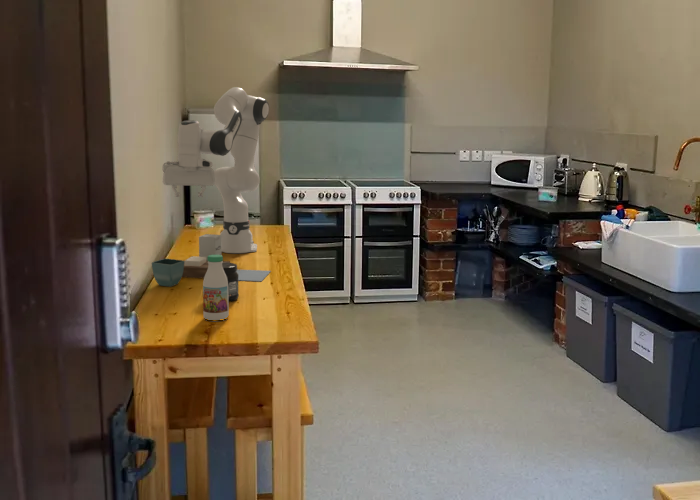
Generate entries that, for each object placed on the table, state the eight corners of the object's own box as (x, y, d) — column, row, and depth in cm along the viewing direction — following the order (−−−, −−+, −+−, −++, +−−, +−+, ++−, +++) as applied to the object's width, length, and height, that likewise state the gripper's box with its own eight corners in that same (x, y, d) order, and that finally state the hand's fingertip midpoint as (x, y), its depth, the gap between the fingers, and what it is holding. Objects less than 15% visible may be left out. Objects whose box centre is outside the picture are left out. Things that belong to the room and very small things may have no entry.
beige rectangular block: (191, 261, 277) (191, 256, 277) (206, 261, 276) (206, 256, 276) (184, 265, 268) (184, 260, 268) (199, 266, 268) (199, 261, 267)
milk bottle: (205, 315, 217) (203, 253, 213) (229, 315, 217) (229, 253, 214) (202, 322, 209) (200, 258, 205) (227, 322, 210) (226, 258, 206)
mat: (234, 270, 281) (234, 269, 281) (270, 271, 280) (270, 270, 279) (223, 280, 263) (223, 279, 263) (261, 281, 262) (261, 281, 262)
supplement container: (211, 294, 241) (211, 261, 239) (241, 295, 241) (241, 262, 239) (204, 302, 231) (203, 268, 229) (235, 303, 231) (235, 268, 229)
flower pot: (185, 283, 257) (185, 260, 255) (172, 288, 248) (171, 264, 247) (165, 281, 259) (164, 258, 258) (151, 286, 251) (150, 262, 249)
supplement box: (215, 267, 285) (215, 237, 283) (198, 266, 287) (198, 236, 284) (222, 263, 292) (221, 234, 290) (205, 262, 294) (205, 233, 292)
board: (186, 269, 280) (186, 259, 280) (230, 270, 279) (229, 261, 278) (175, 276, 267) (175, 266, 266) (220, 278, 265) (220, 268, 264)
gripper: (164, 161, 263) (164, 197, 265) (216, 163, 273) (215, 197, 275) (160, 160, 269) (160, 196, 271) (211, 162, 278) (211, 196, 280)
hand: (188, 196), depth 273 cm, fingers open, 8 cm apart
